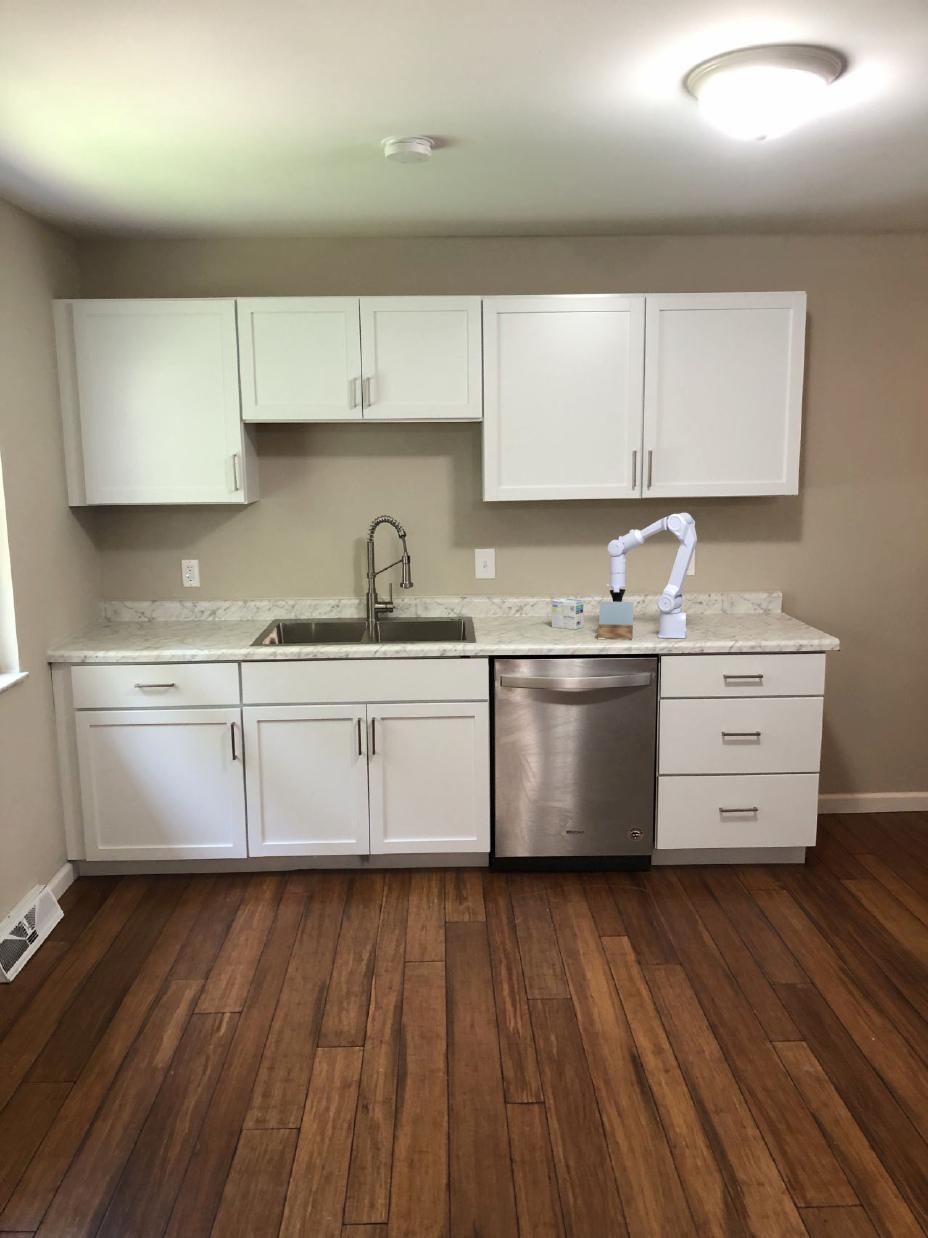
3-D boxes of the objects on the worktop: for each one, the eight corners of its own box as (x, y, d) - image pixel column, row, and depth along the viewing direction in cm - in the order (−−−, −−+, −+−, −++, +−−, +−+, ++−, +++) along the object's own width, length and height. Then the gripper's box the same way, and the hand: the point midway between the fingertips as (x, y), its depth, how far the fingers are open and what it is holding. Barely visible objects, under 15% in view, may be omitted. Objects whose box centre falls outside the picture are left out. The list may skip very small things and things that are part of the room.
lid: (632, 624, 336) (632, 625, 337) (633, 601, 337) (633, 601, 338) (599, 624, 339) (599, 624, 340) (599, 600, 339) (600, 601, 341)
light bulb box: (584, 627, 356) (584, 599, 354) (575, 630, 351) (576, 601, 349) (559, 624, 362) (559, 597, 360) (550, 627, 357) (551, 599, 355)
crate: (632, 636, 337) (632, 625, 336) (631, 640, 329) (631, 629, 328) (599, 635, 339) (599, 624, 339) (597, 639, 332) (597, 628, 331)
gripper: (608, 570, 350) (607, 606, 352) (605, 574, 336) (605, 612, 339) (627, 570, 349) (626, 606, 351) (625, 574, 335) (624, 612, 337)
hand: (617, 609), depth 345 cm, fingers closed
